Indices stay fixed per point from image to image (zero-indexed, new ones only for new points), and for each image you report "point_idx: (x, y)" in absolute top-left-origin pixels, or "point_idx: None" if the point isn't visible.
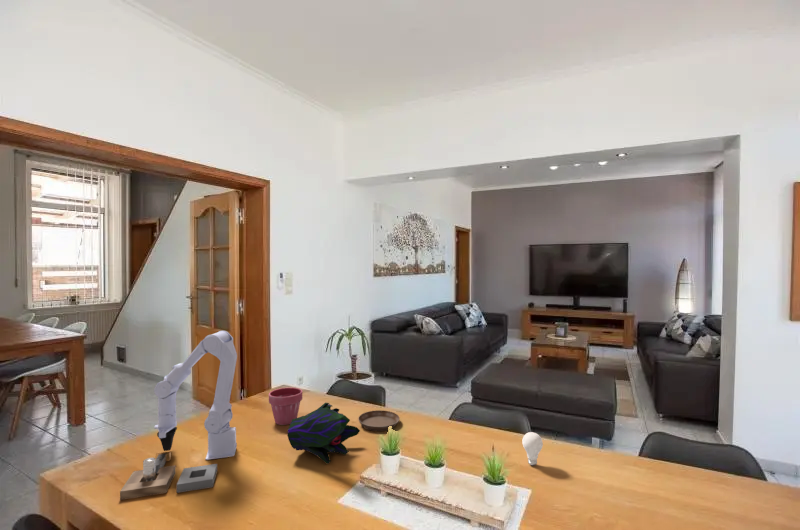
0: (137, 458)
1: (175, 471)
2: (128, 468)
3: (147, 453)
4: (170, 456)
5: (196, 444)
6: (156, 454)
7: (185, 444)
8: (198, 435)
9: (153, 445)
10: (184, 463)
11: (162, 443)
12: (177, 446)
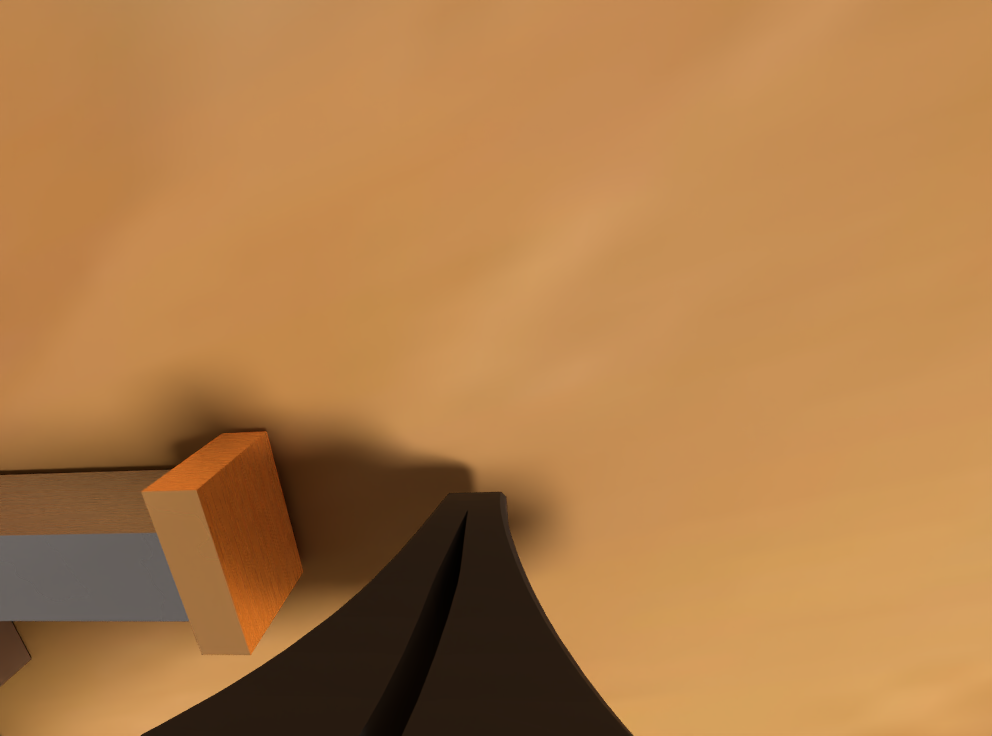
0: (415, 95)
1: (8, 674)
2: (85, 97)
3: (578, 201)
4: (281, 596)
5: (670, 728)
6: (157, 501)
7: (723, 629)
8: (978, 718)
9: (918, 185)
10: (215, 691)
11: (377, 585)
12: (694, 556)
